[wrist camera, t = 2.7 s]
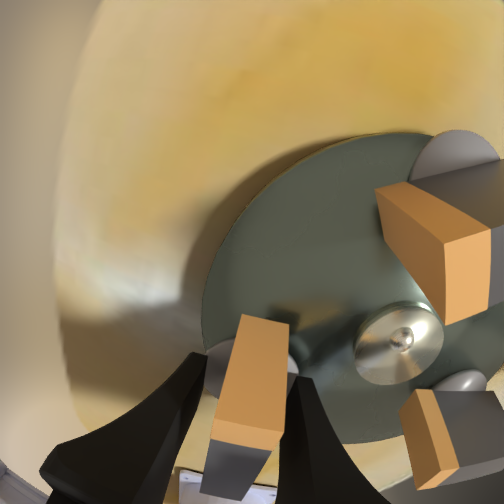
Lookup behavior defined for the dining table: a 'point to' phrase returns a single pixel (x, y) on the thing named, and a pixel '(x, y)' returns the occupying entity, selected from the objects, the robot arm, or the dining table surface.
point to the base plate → (344, 288)
